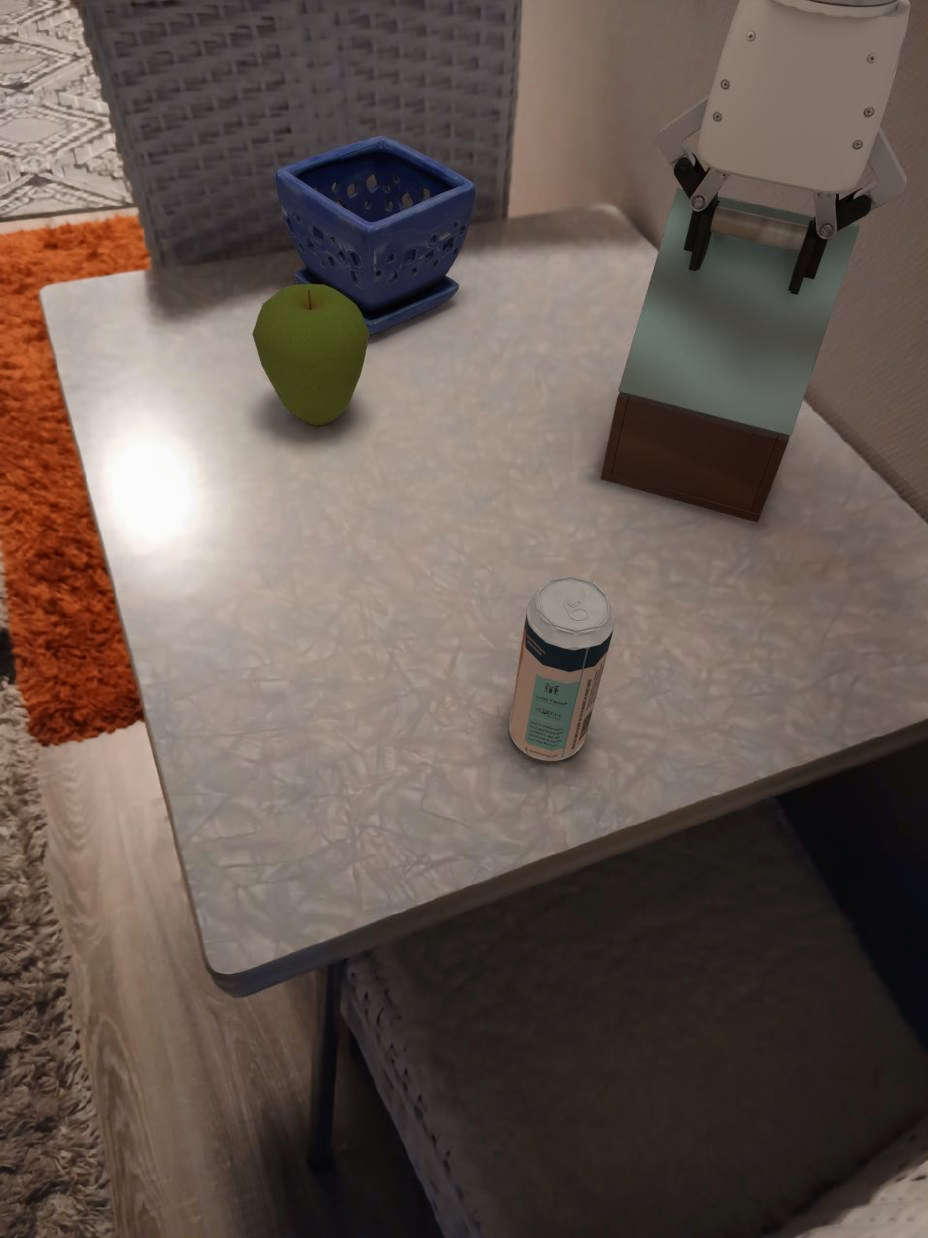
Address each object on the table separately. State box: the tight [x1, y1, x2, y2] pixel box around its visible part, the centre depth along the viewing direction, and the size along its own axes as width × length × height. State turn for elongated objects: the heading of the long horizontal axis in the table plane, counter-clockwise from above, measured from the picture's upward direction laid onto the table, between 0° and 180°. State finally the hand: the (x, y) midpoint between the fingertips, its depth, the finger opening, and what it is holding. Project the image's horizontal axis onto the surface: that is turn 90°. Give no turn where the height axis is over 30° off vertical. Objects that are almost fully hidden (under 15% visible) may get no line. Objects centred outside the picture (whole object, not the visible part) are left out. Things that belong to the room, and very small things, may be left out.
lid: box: [618, 186, 861, 437], centre depth 66 cm, size 14×13×6 cm
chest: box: [600, 391, 791, 523], centre depth 78 cm, size 14×13×8 cm
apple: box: [252, 284, 371, 427], centre depth 76 cm, size 9×8×12 cm
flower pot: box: [275, 135, 477, 335], centre depth 89 cm, size 13×13×12 cm
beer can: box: [508, 575, 616, 762], centre depth 56 cm, size 5×5×12 cm
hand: (746, 270), depth 66 cm, fingers closed on lid, 6 cm apart
